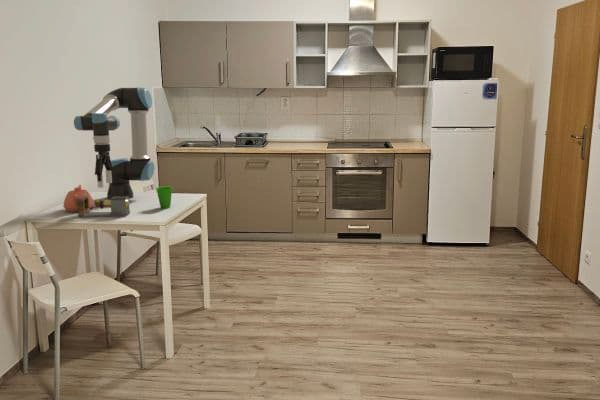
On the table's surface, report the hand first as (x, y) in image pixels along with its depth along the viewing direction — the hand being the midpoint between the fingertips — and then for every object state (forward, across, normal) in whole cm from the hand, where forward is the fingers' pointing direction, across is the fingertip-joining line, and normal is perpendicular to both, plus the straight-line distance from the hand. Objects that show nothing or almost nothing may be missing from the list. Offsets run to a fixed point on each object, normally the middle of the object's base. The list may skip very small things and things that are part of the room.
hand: (105, 185), depth 281 cm
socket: (+16, 0, -12) cm, 20 cm away
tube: (+12, 0, +3) cm, 13 cm away
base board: (+16, 0, -1) cm, 16 cm away
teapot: (+16, -15, -20) cm, 29 cm away
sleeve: (+16, 0, +7) cm, 17 cm away
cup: (+16, -17, +27) cm, 35 cm away
